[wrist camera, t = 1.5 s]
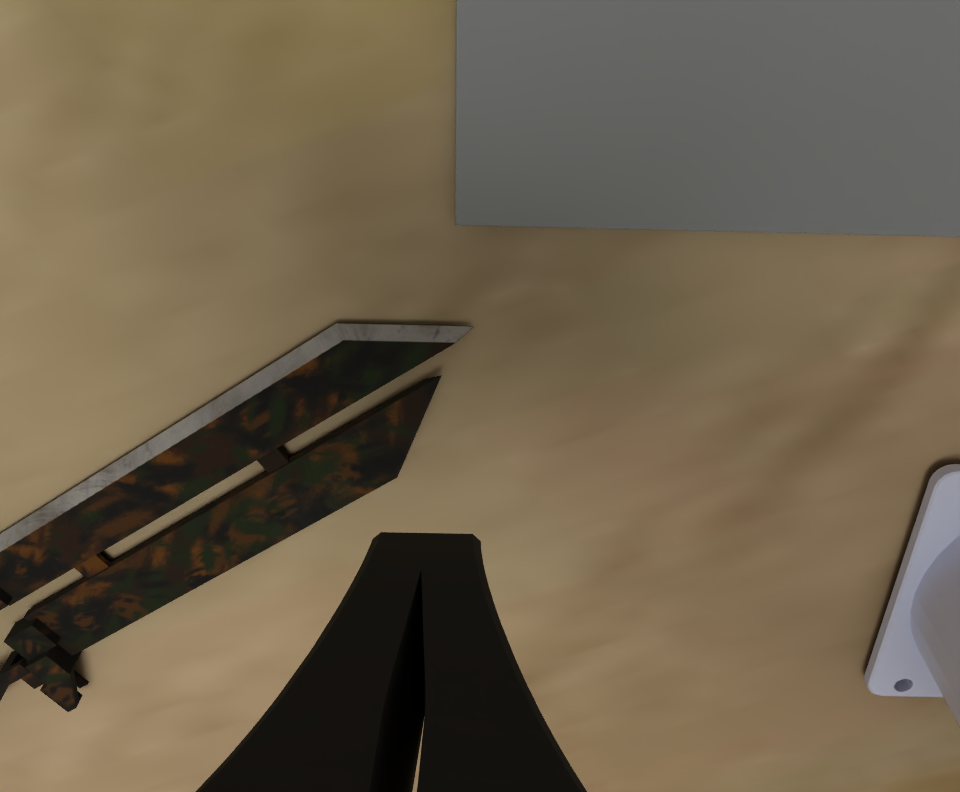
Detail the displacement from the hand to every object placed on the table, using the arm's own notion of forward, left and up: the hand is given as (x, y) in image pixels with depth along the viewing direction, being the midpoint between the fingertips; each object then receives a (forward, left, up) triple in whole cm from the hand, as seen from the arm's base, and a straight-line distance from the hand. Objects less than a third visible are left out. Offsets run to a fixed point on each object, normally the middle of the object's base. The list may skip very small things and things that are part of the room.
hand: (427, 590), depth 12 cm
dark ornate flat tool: (+10, +8, -11) cm, 17 cm away
